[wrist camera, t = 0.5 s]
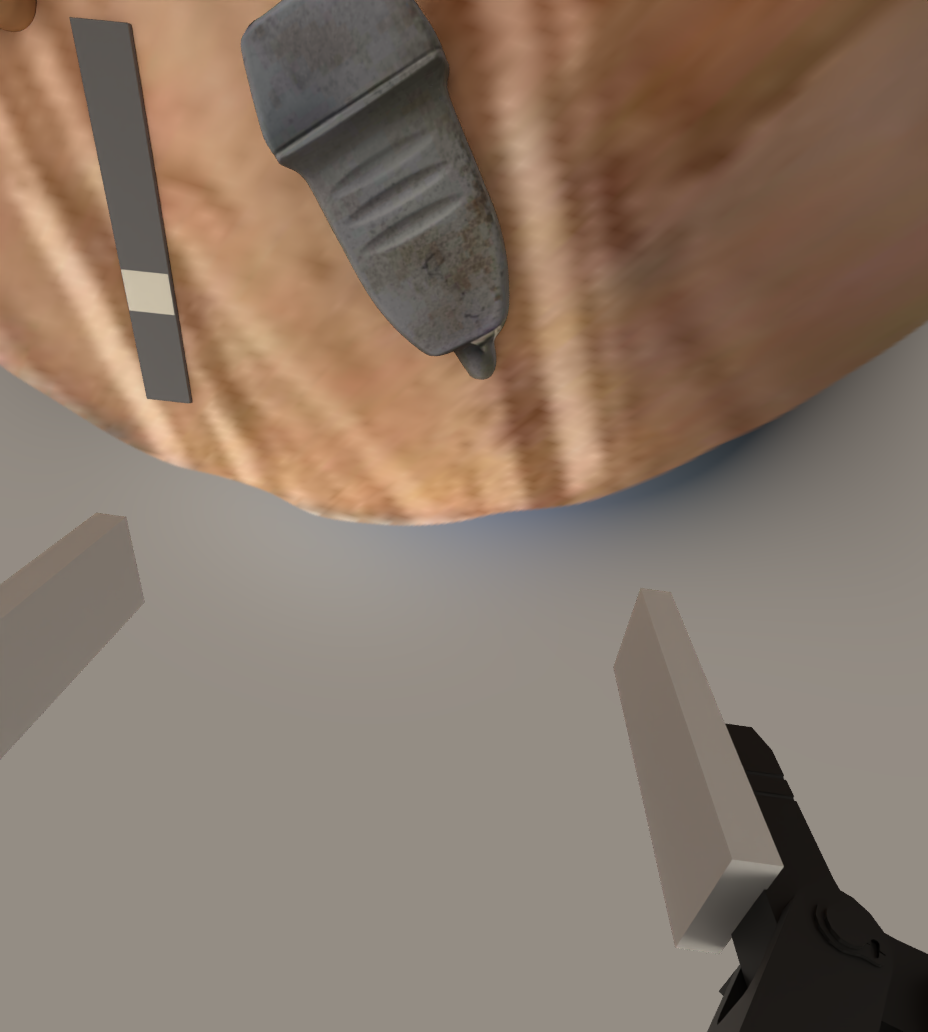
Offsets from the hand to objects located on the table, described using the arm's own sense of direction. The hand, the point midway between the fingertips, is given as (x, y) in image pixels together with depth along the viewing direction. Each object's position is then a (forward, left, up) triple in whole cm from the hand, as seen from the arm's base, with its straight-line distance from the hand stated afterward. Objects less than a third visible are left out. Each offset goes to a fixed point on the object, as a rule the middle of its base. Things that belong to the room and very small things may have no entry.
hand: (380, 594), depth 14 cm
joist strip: (-5, -20, -24) cm, 32 cm away
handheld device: (-8, -3, -25) cm, 26 cm away
